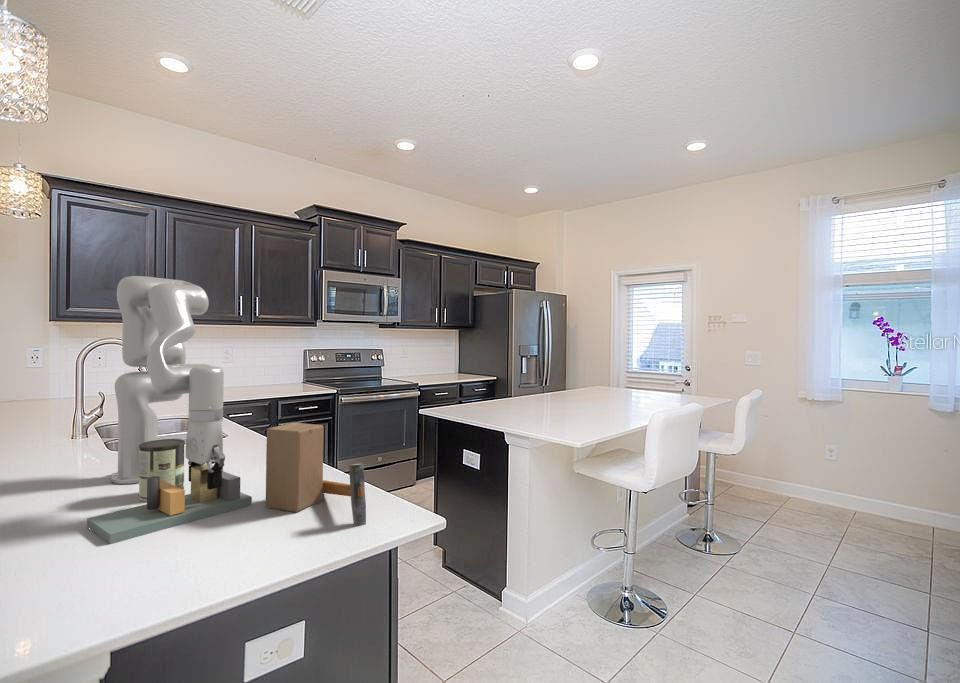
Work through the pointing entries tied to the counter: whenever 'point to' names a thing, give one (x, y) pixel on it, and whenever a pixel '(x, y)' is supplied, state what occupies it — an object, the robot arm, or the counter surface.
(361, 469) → the hammer
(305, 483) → the wooden block
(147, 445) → the coffee can
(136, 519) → the vise
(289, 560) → the counter surface
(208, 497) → the brass block
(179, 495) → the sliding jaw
